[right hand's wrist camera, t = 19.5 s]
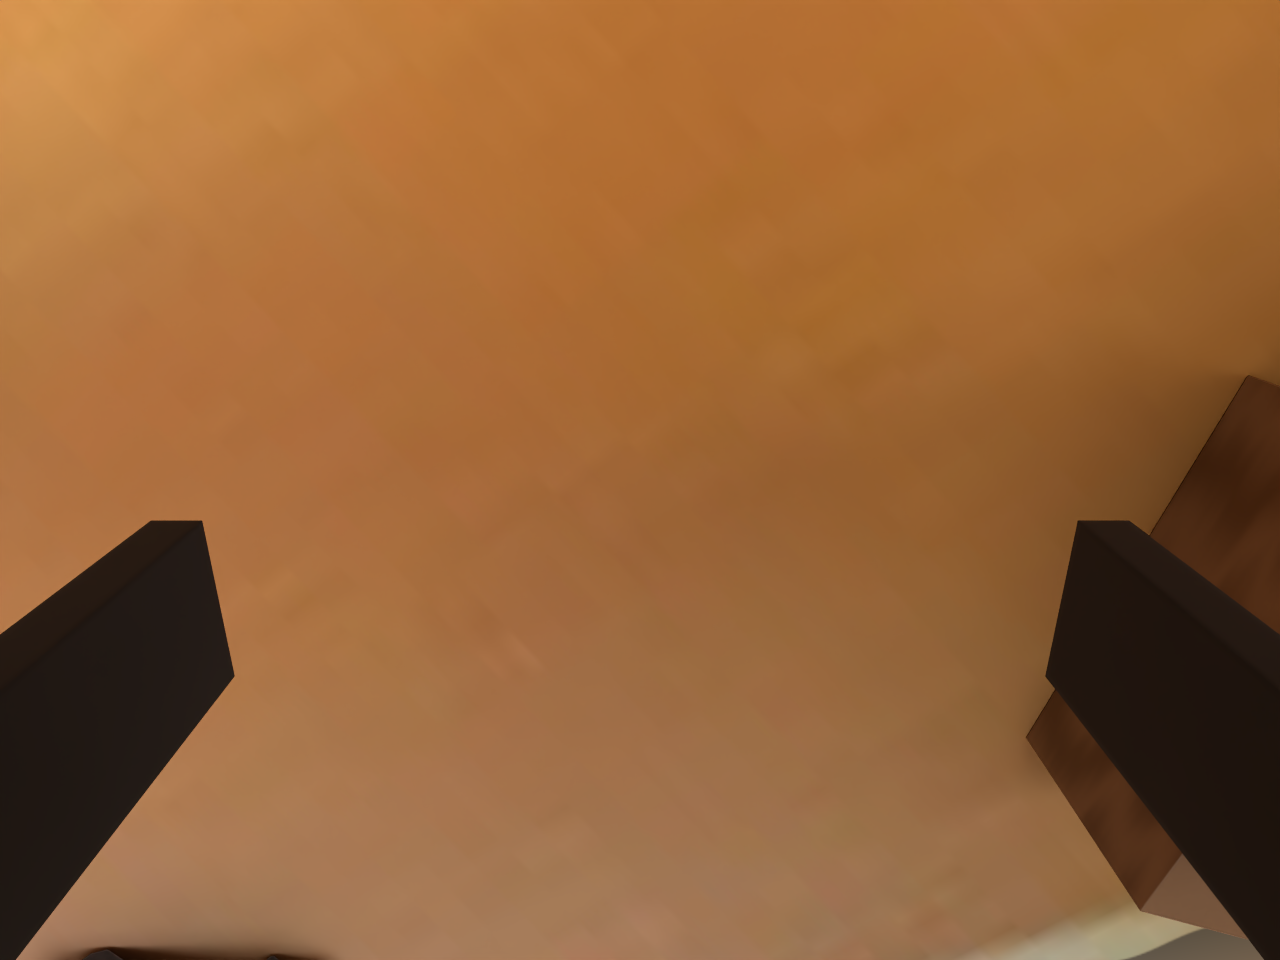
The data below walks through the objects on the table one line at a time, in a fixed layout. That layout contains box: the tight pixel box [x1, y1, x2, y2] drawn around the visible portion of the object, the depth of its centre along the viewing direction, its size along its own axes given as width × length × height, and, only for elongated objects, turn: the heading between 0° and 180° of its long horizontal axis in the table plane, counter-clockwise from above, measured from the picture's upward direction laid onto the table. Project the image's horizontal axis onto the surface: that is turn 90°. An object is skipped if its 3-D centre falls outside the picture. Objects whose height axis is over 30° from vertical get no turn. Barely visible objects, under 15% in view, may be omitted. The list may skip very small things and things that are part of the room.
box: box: [1027, 376, 1280, 940], centre depth 41 cm, size 24×6×12 cm, turn 162°
